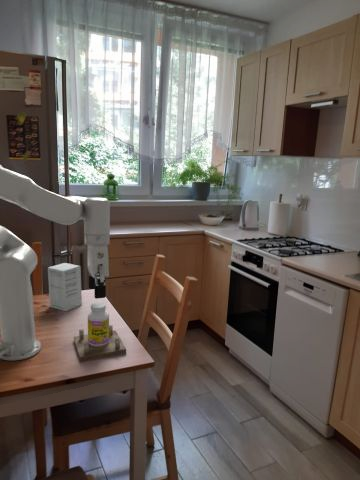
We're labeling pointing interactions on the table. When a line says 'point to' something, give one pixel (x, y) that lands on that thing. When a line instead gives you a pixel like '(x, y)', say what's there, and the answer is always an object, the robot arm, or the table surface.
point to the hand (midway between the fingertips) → (96, 292)
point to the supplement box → (65, 286)
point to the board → (92, 352)
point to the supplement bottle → (98, 325)
